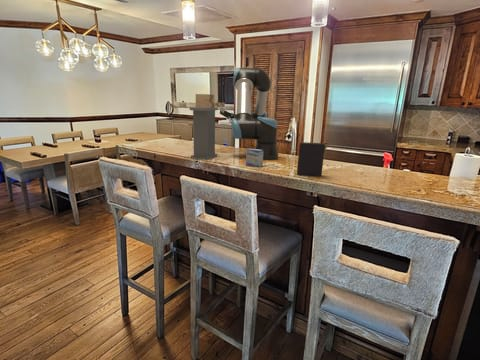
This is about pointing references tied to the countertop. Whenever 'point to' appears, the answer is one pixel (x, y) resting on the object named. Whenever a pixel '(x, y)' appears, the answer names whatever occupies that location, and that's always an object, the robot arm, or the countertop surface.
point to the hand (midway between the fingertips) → (229, 106)
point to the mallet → (207, 101)
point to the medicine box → (254, 157)
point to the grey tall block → (204, 132)
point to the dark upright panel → (310, 159)
